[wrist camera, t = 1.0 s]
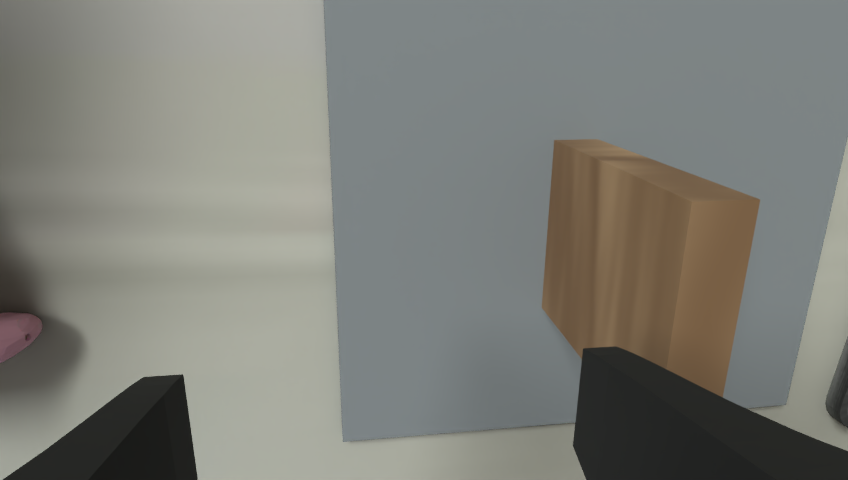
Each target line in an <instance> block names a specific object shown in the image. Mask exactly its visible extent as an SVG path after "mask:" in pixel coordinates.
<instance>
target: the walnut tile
mask: <svg viewBox="0 0 848 480" xmlns="http://www.w3.org/2000/svg"><path fill="white" fill-rule="evenodd" d="M759 204H760V199H758V198H755V197H752V196H750V195H747V194H744V193H742V192H739V191H736V190H734V189H731V188H728V187H725V186H723V185H720V184H717V183H715V182H712V181H709V180H707V179H704V178H701V177H698V176H696V175H693V174H690V173H688V172H685V171H682V170H680V169H677V168H674V167H671V166H669V165H666V164H663V163H661V162H658V161H655V160H653V159H650V158H647V157H644V156H642V155H639V154H636V153H634V152H631V151H628V150H626V149H623V148H620V147H617V146H615V145H612V144H609V143H607V142H604V141H601V140H599V139H580V140H554V149H553V162H552V175H551V189H550V202H549V215H548V229H547V242H546V255H545V269H544V282H543V295H542V309H543V310H544V311H545V313H546V314H547V315H548V316H549V318H550V319H551V320H552V322H553V323H554V324H555V325H556V327H557V328H558V329H559V331H560V332H561V333H562V334H563V336H564V337H565V338H566V340H567V341H568V342H569V343H570V345H571V346H572V347H573V349H574V350H575V351H576V352H577V354H578V355H579V356H580V358H581V359H582V354H583V348H597V347H613V346H616V347H619V348H622V349H624V350H627V351H629V352H632V353H634V354H636V355H638V356H640V357H642V358H645V359H647V360H649V361H651V362H653V363H655V364H657V365H659V366H661V367H663V368H665V369H667V370H669V371H671V372H673V373H675V374H677V375H679V376H681V377H683V378H685V379H687V380H689V381H691V382H693V383H695V384H697V385H699V386H701V387H703V388H705V389H707V390H709V391H711V392H713V393H715V394H717V395H719V396H721V397H723V393H724V388H725V383H726V378H727V372H728V367H729V362H730V357H731V351H732V346H733V341H734V336H735V330H736V325H737V320H738V315H739V309H740V304H741V299H742V294H743V288H744V283H745V278H746V273H747V267H748V262H749V257H750V252H751V246H752V241H753V236H754V231H755V225H756V220H757V215H758V210H759Z"/></svg>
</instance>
